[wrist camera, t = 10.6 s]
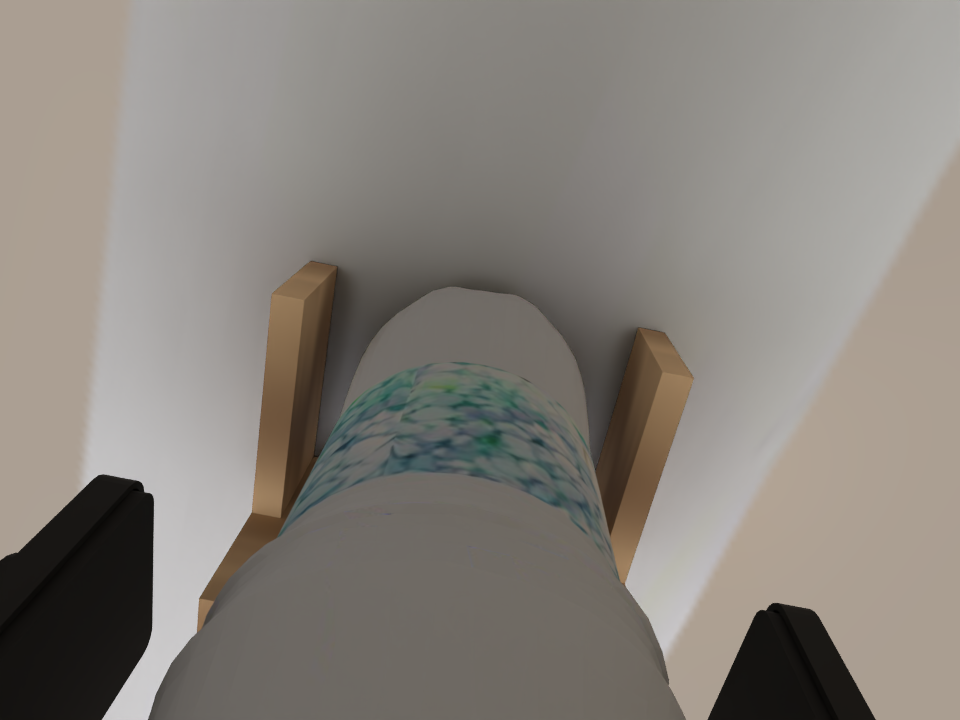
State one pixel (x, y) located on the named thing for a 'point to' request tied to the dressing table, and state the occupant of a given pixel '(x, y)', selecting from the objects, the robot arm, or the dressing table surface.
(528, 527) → the bottle
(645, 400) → the wooden u-shaped piece
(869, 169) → the dressing table surface
